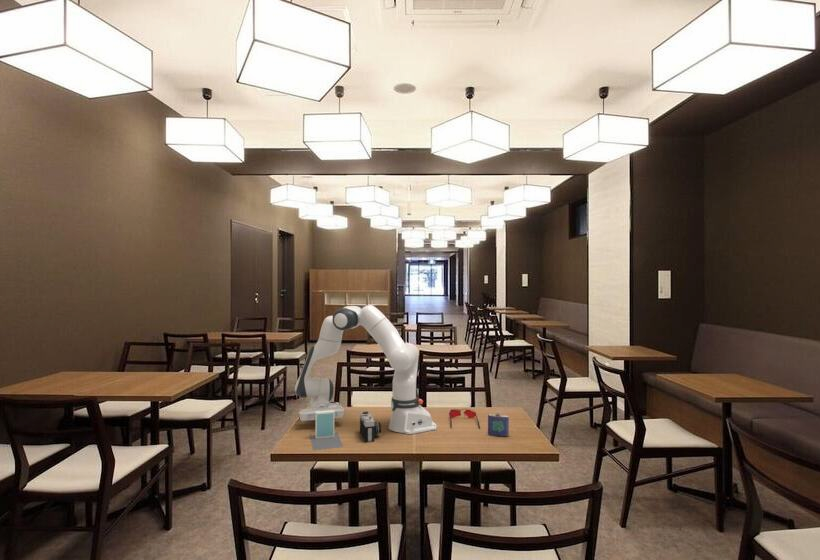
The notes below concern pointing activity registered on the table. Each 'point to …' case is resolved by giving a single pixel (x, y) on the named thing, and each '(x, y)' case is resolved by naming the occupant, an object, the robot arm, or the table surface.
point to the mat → (326, 442)
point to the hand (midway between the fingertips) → (323, 418)
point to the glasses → (457, 413)
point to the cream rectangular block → (324, 424)
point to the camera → (369, 427)
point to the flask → (498, 425)
